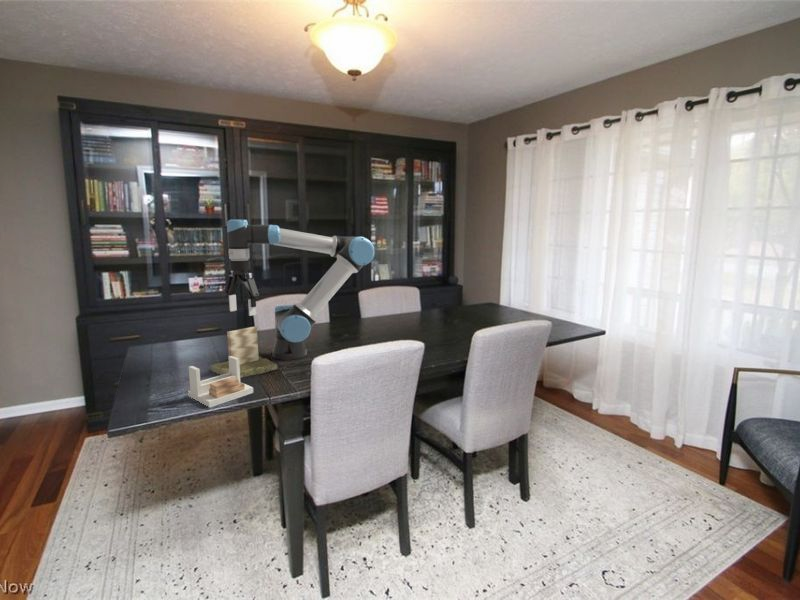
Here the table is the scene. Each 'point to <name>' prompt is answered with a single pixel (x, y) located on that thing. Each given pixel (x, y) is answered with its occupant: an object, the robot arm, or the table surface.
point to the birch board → (243, 344)
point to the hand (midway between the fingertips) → (242, 313)
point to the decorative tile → (246, 367)
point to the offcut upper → (224, 384)
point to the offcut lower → (227, 391)
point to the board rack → (201, 388)
